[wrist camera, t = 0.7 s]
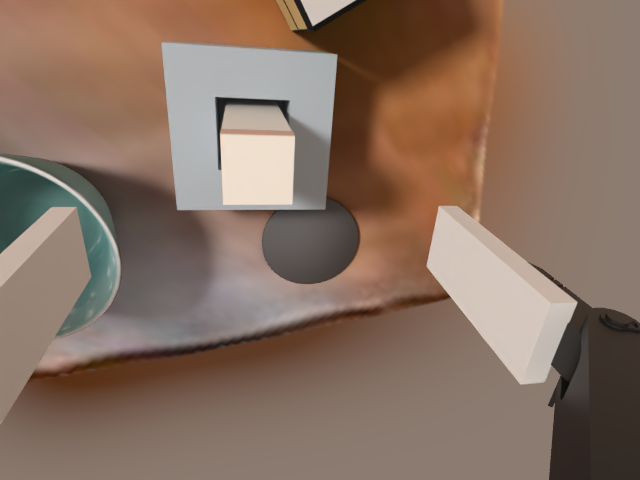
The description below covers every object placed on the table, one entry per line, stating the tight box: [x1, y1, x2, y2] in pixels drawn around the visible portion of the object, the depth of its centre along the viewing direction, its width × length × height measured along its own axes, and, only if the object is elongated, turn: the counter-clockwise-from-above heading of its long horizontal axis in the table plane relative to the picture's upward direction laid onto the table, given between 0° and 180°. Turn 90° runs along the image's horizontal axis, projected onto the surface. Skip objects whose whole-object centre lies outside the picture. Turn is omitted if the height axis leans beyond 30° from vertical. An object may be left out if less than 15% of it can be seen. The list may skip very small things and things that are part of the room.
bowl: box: [0, 154, 122, 340], centre depth 33 cm, size 16×16×8 cm
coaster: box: [262, 198, 358, 284], centre depth 42 cm, size 10×10×1 cm
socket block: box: [161, 41, 337, 210], centre depth 34 cm, size 12×12×6 cm
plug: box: [220, 98, 295, 205], centre depth 29 cm, size 4×4×14 cm
